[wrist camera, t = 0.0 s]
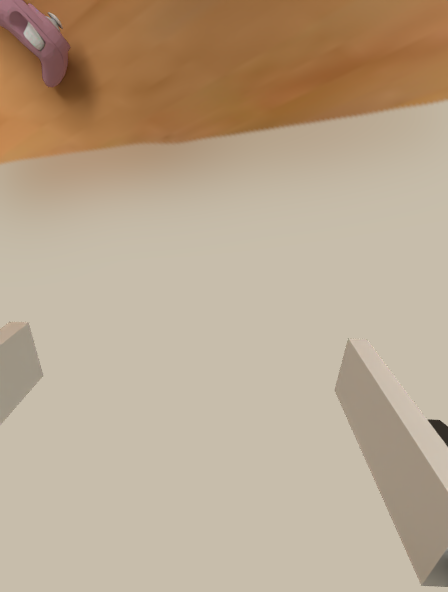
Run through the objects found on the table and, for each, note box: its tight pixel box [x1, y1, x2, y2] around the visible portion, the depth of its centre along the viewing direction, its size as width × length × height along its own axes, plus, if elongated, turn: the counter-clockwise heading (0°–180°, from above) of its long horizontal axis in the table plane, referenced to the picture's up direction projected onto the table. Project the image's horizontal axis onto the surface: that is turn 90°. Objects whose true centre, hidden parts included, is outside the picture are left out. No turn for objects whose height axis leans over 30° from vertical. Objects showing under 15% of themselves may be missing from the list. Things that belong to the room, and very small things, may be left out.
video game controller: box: [0, 0, 70, 87], centre depth 24 cm, size 10×5×7 cm, turn 42°
